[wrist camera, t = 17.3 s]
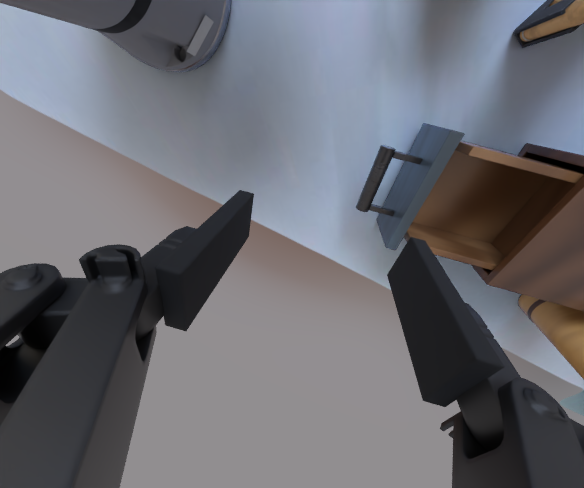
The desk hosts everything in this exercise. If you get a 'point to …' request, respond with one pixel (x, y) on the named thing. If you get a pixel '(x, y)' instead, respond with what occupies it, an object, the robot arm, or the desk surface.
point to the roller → (558, 327)
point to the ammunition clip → (551, 21)
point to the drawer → (463, 196)
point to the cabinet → (549, 244)
